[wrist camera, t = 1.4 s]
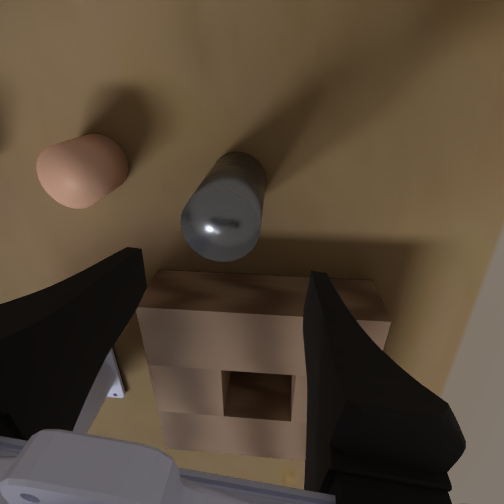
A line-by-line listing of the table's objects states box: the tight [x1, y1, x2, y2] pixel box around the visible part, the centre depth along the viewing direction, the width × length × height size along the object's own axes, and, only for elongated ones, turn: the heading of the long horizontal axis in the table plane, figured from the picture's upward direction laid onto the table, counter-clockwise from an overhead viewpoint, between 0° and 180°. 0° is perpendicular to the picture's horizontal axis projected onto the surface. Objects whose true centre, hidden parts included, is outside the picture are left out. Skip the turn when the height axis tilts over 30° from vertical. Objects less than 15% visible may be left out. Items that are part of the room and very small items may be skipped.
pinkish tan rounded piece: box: [37, 134, 128, 209], centre depth 21 cm, size 4×4×4 cm
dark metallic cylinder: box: [181, 152, 266, 262], centre depth 19 cm, size 4×4×8 cm
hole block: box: [136, 270, 391, 461], centre depth 29 cm, size 18×18×5 cm
